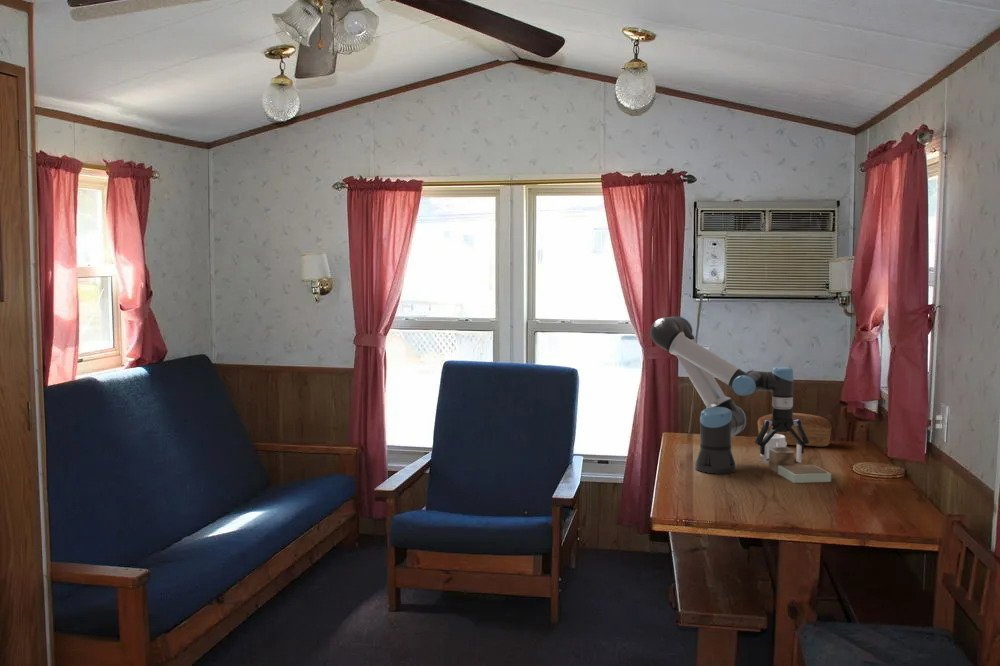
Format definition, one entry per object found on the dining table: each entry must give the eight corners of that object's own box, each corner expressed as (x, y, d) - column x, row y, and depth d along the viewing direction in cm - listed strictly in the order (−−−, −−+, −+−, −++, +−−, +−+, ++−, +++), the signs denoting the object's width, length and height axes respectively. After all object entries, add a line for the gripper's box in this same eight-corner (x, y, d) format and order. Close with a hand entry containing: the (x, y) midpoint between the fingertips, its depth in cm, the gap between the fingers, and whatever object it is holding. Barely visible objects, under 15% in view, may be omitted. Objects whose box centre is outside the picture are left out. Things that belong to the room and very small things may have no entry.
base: (793, 482, 307) (793, 473, 307) (777, 473, 321) (777, 464, 320) (830, 481, 308) (831, 472, 308) (813, 472, 322) (813, 463, 322)
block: (776, 472, 323) (776, 451, 323) (768, 467, 330) (769, 447, 330) (794, 471, 324) (794, 450, 323) (786, 467, 331) (786, 447, 330)
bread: (757, 439, 385) (758, 409, 384) (830, 443, 376) (831, 413, 374) (756, 444, 374) (757, 414, 373) (831, 448, 364) (832, 417, 363)
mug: (791, 461, 340) (792, 439, 340) (766, 461, 340) (766, 439, 340) (781, 455, 352) (782, 433, 352) (756, 455, 352) (757, 433, 352)
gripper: (754, 410, 320) (753, 465, 322) (818, 408, 323) (817, 463, 324) (747, 406, 328) (746, 461, 330) (809, 405, 330) (808, 459, 332)
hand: (781, 462), depth 327 cm, fingers open, 13 cm apart
